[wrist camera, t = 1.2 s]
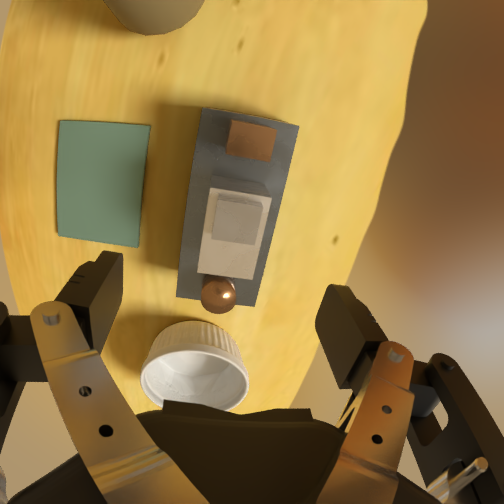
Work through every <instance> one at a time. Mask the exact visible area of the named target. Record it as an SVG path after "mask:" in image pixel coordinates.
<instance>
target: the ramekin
mask: <svg viewBox="0 0 504 504" xmlns="http://www.w3.org/2000/svg"><path fill="white" fill-rule="evenodd" d="M140 383H141V387H142V389H143V391H144V393H145V394H146V395H147V397H148V398H149V399H150V400H151V401H153V402H154V403H155V404H156V405H158V406H160V407H161V408H163V400H164V399H166V400H173V401H180V402H188V403H197V404H203V405H206V406H210V407H213V408H217V409H220V410H224V411H229V410H231V409H232V408H234V407H236V406H237V405H238V404H240V403H241V402H242V401H243V399H244V398H245V396H246V395H247V393H248V389H249V376H248V372H247V369H246V367H245V366H244V364H243V361H242V357H241V354H240V351H239V348H238V346H237V344H236V342H235V340H234V339H233V338H232V337H231V336H230V335H229V334H228V333H227V332H226V331H224V330H223V329H221V328H219V327H218V326H215V325H213V324H210V323H206V322H201V321H184V322H179V323H176V324H173V325H171V326H169V327H167V328H166V329H164V330H163V331H162V332H160V333H159V335H158V336H157V337H156V339H155V340H154V342H153V344H152V346H151V349H150V351H149V354H148V357H147V359H146V360H145V361H144V363H143V365H142V368H141V374H140Z"/></svg>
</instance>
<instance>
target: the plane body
mask: <svg viewBox="0 0 504 504" xmlns="http://www.w3.org/2000/svg"><path fill="white" fill-rule="evenodd" d="M298 130H299V126H297V125H294V124H290V123H287V122H282V121H278V120H273V119H269V118H264V117H259V116H254V115H249V114H244V113H238V112H233V111H227V110H221V109H214V108H208V107H203V108H202V113H201V118H200V123H199V129H198V134H197V140H196V146H195V152H194V158H193V164H192V170H191V176H190V183H189V190H188V197H187V204H186V211H185V219H184V226H183V234H182V243H181V251H180V260H179V270H178V280H177V290H176V297H180V298H188V299H195V300H201V303H202V305H203V307H204V308H205V309H206V310H207V311H209V312H211V313H215V314H222V313H226V312H228V311H230V310H231V309H232V308H233V307H234V306H235V305H244V306H252V307H255V303H256V299H257V295H258V291H259V288H260V284H261V280H262V276H263V272H264V268H265V264H266V260H267V256H268V252H269V248H270V244H271V240H272V236H273V233H274V229H275V225H276V221H277V216H278V212H279V208H280V204H281V200H282V196H283V192H284V188H285V184H286V180H287V176H288V172H289V168H290V163H291V159H292V155H293V151H294V147H295V143H296V138H297V134H298ZM212 175H213V176H219V177H226V178H232V179H238V180H244V181H249V182H255V183H261V184H265V186H266V188H267V190H268V191H269V193H270V195H271V197H272V200H271V204H270V208H269V212H268V217H267V221H266V225H265V229H264V233H263V238H262V242H261V246H260V250H259V254H258V259H257V263H256V267H255V271H254V275H253V279H252V280H250V279H242V278H234V277H227V276H219V275H212V274H204V273H197V270H198V262H199V253H200V246H201V239H202V233H203V226H204V220H205V213H206V207H207V201H208V195H209V189H210V183H211V178H212Z"/></svg>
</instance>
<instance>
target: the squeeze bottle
mask: <svg viewBox="0 0 504 504" xmlns="http://www.w3.org/2000/svg"><path fill="white" fill-rule="evenodd" d="M103 1H104V2H105V3H106V5H107V6H108V7H109V8H110V10H111V11H112V12H113V14H114V15H115V16H116V17H117V19H118V20H119V21H120V22H121V23H122V24H123V25H124V26H125V27H126V28H128V29H129V30H130V31H132V32H136V33H139V34H142V35H159V34H165V33H168V32H170V31H173V30H176V29H178V28H181V27H182V26H184V25H185V24H186V23H187V22H188V21H190V20H191V19H192V18H194V17H195V16H196V14H197V13H198V11H199V9H200V8H201V6H202V5H203V3H204V0H103Z"/></svg>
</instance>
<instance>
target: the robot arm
mask: <svg viewBox="0 0 504 504" xmlns="http://www.w3.org/2000/svg"><path fill="white" fill-rule="evenodd" d="M122 295H123V254H122V253H117V252H111V251H105V250H104V251H102V253H101V254H100V255H99V257H98V258H97V260H96V261H95V262H92V261H88V262H86V263H84V264H83V265H81V266H79V267H78V269H77V270H76V271H75V272H74V274H73V276H72V277H71V278H70V279H69V282H67V283H66V285H65V286H64V287H63V289H62V290H61V292H60V293H59V294H58V296H57V297H56V299H55V300H54V301H48V302H44V303H41V304H39V305H37V306H36V307H35V308H34V309H33V310H32V312H31V314H30V315H28V316H13V315H9V313H8V309H7V307H6V305H5V304H4V303H2V302H0V453H1V450H2V447H3V443H4V440H5V437H6V434H7V431H8V428H9V426H10V423H11V420H12V417H13V414H14V412H15V409H16V406H17V404H18V401H19V399H20V396H21V393H22V391H23V389H24V386H25V384H26V382H49V385H50V388H51V391H52V393H53V396H54V399H55V401H56V404H57V406H58V409H59V411H60V414H61V416H62V419H63V421H64V423H65V425H66V428H67V430H68V432H69V434H70V436H71V439H72V441H73V443H74V445H75V447H76V449H77V451H78V453H77V454H76V455H75V456H73V457H72V458H70V459H69V460H67V461H66V462H64V463H63V464H61V465H60V466H58V467H57V468H56V469H54V470H52V471H51V472H49V473H48V474H46V475H45V476H43V477H42V478H40V479H39V480H37V481H36V482H34V483H32V484H31V485H29V486H28V487H26V488H25V489H23V490H22V491H20V492H18V493H17V494H15V495H14V496H13V497H12V498H11V499H10V500H9V501H8V499H7V496H6V478H5V474H4V472H3V470H2V468H1V467H0V504H504V437H503V435H502V434H501V432H500V430H499V428H498V426H497V425H496V423H495V421H494V420H493V418H492V416H491V415H490V413H489V411H488V410H487V408H486V406H485V405H484V403H483V402H482V400H481V398H480V397H479V395H478V394H477V392H476V390H475V389H474V387H473V386H472V384H471V383H470V381H469V380H468V378H467V377H466V375H465V374H464V372H463V371H462V369H461V368H460V366H459V365H458V363H457V362H456V361H455V360H454V359H452V358H451V357H449V356H447V355H445V354H442V353H436V354H434V355H433V356H432V357H431V359H430V360H429V362H428V363H424V362H421V361H416V360H414V357H413V355H412V353H411V352H410V351H409V350H408V349H407V348H406V347H405V346H403V345H402V344H399V343H397V342H394V341H389V340H388V338H387V337H386V335H385V334H384V332H383V331H382V329H381V328H380V326H379V325H378V323H376V320H375V318H374V317H373V316H372V314H371V312H370V311H369V309H368V308H367V307H366V306H365V305H364V304H363V303H362V302H360V301H359V300H358V299H356V297H355V295H354V294H353V292H352V291H351V289H350V288H349V287H348V286H343V285H335V284H330V285H329V286H328V287H327V289H326V292H325V294H324V297H323V300H322V302H321V305H320V308H319V310H318V313H317V315H316V320H315V329H316V332H317V334H318V337H319V339H320V342H321V344H322V346H323V349H324V352H325V354H326V357H327V359H328V362H329V364H330V367H331V369H332V371H333V374H334V377H335V379H336V382H337V385H338V387H339V389H352V390H353V392H352V393H351V395H350V397H349V398H348V400H347V403H346V405H345V407H344V409H343V411H342V413H341V415H340V417H339V419H338V421H337V423H336V425H335V426H333V425H331V424H328V423H326V422H323V421H320V420H316V419H313V417H312V414H311V410H310V408H308V409H272V410H266V411H261V412H255V413H250V414H243V415H240V414H235V413H231V412H227V411H224V410H220V409H217V408H213V407H210V406H206V405H203V404H197V403H188V402H180V401H173V400H166V399H164V400H163V408H162V410H153V411H147V412H144V413H140V414H137V415H135V414H134V413H133V411H132V409H131V408H130V406H129V405H128V403H127V402H126V400H125V398H124V397H123V395H122V394H121V392H120V390H119V389H118V387H117V385H116V384H115V382H114V380H113V378H112V377H111V375H110V373H109V371H108V370H107V368H106V366H105V364H104V362H103V361H102V359H101V357H100V354H101V351H102V349H103V346H104V344H105V341H106V339H107V336H108V334H109V331H110V329H111V326H112V324H113V321H114V319H115V316H116V314H117V312H118V309H119V307H120V304H121V301H122ZM440 401H441V403H442V404H443V406H444V408H445V410H446V412H447V414H448V424H447V426H446V427H445V428H444V430H443V431H442V429H441V427H440V425H439V423H438V421H437V419H436V417H435V415H434V413H433V409H434V408H435V407H436V406H437V405H438V403H439V402H440ZM406 436H407V439H408V441H409V444H410V446H411V449H412V451H413V454H414V456H415V458H416V461H417V464H418V467H419V469H420V472H421V475H422V477H423V480H424V482H425V485H426V488H427V492H426V491H425V490H423V489H422V488H420V487H419V486H417V485H416V484H415V483H413V482H412V481H410V480H409V479H407V478H406V477H404V476H403V475H401V474H400V473H399V472H397V469H398V465H399V462H400V458H401V454H402V451H403V447H404V443H405V439H406Z"/></svg>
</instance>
